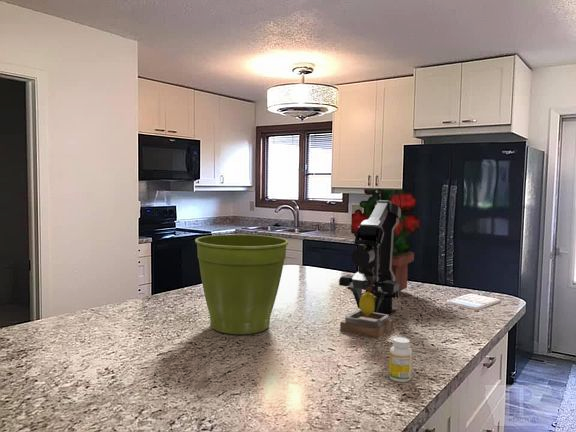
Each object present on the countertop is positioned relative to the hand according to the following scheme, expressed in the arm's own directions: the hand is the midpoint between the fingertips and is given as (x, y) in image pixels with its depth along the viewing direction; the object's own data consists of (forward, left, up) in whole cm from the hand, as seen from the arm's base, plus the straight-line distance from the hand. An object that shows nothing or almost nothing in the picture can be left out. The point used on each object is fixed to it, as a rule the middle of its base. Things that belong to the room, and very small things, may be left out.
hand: (367, 309), depth 157 cm
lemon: (0, 0, -2) cm, 2 cm away
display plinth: (0, 0, -7) cm, 7 cm away
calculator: (-59, +21, -7) cm, 63 cm away
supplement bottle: (+32, +22, -7) cm, 39 cm away
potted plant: (-53, -15, -7) cm, 56 cm away
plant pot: (+22, -35, -7) cm, 42 cm away
